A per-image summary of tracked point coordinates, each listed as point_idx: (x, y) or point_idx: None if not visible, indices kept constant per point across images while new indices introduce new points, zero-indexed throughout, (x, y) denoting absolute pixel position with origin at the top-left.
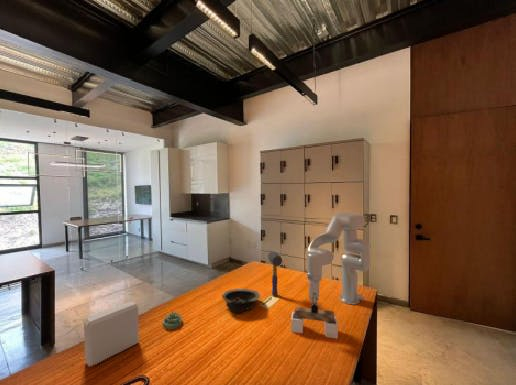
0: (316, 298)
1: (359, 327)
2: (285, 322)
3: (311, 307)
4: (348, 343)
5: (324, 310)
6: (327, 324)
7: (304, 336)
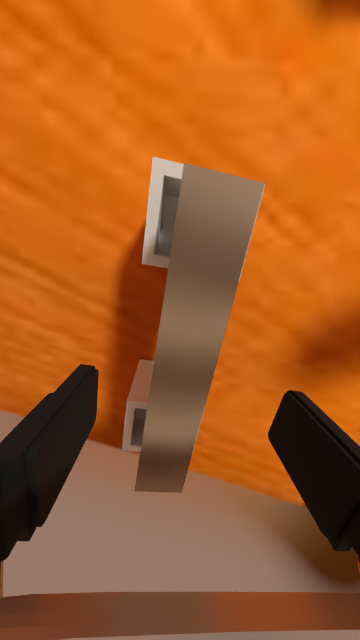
0: (306, 490)
1: (202, 466)
2: (244, 172)
3: (41, 408)
4: (113, 423)
5: (190, 447)
6: (127, 405)
7: (130, 270)
